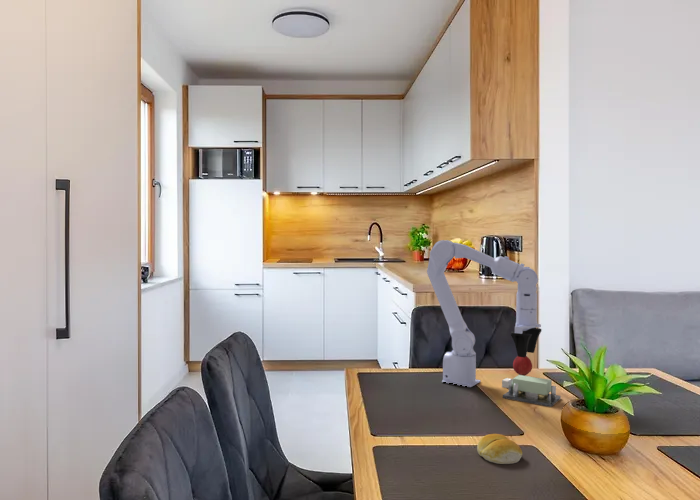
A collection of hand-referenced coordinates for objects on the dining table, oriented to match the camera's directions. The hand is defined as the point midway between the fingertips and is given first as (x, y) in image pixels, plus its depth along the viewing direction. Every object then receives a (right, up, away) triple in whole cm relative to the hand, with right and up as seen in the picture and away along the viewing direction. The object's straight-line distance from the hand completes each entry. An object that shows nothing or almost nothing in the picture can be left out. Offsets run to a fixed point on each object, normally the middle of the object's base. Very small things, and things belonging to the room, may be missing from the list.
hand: (526, 354), depth 153 cm
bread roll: (-22, -11, -48) cm, 54 cm away
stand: (-2, -10, 0) cm, 10 cm away
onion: (+3, -10, +13) cm, 16 cm away
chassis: (-2, -10, -10) cm, 14 cm away
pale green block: (-2, -8, -10) cm, 13 cm away
